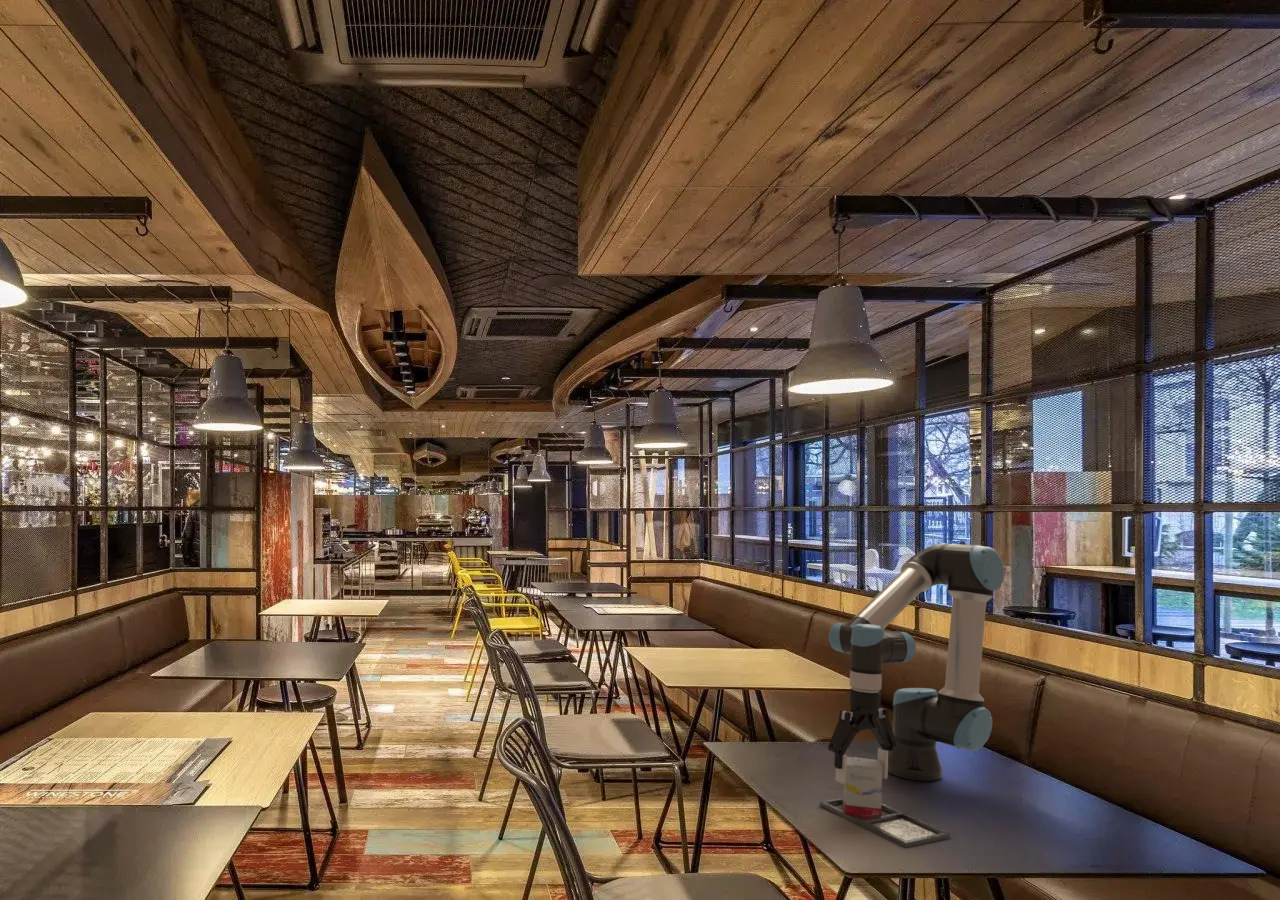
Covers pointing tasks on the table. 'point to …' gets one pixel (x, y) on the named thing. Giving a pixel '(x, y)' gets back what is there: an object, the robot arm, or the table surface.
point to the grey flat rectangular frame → (893, 825)
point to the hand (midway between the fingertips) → (861, 779)
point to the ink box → (863, 787)
